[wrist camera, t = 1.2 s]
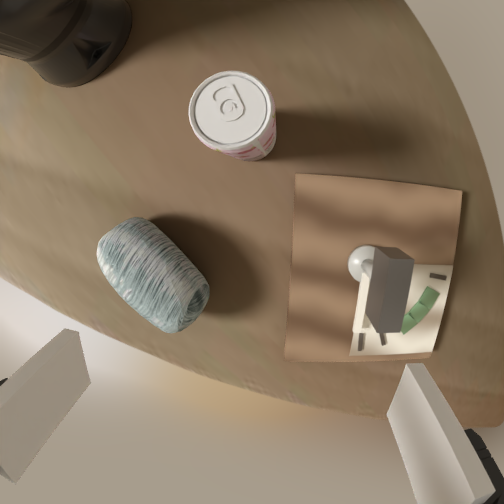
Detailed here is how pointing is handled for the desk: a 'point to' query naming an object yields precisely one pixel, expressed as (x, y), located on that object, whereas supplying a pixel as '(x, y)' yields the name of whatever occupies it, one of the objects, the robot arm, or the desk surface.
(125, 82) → the desk surface
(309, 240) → the dial board
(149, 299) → the pale teal yarn skein
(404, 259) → the grey piece
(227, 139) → the beverage can
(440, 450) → the robot arm
